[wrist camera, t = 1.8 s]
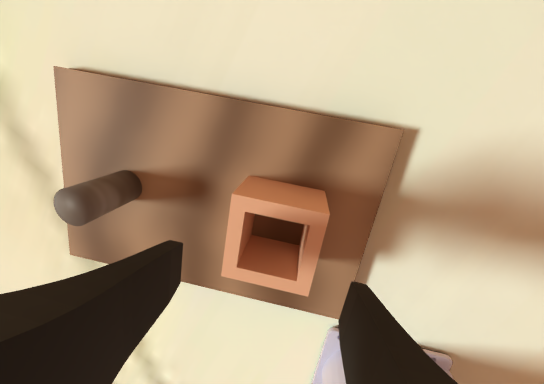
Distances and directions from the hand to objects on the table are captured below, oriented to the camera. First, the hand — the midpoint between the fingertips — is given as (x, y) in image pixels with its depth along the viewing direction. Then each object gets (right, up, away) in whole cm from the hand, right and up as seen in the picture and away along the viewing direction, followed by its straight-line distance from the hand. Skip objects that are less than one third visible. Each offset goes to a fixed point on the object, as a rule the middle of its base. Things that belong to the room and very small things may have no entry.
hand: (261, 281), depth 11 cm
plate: (-4, +3, +8) cm, 9 cm away
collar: (+1, +2, +7) cm, 7 cm away
